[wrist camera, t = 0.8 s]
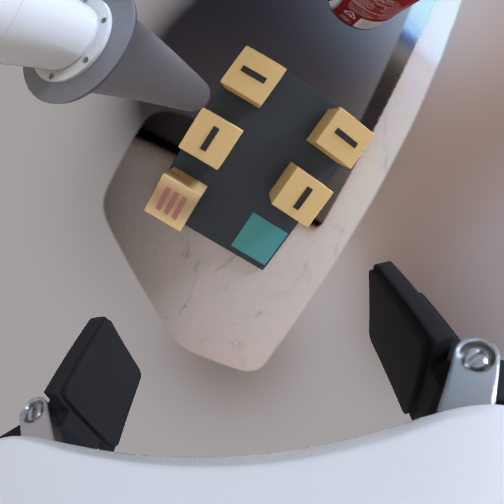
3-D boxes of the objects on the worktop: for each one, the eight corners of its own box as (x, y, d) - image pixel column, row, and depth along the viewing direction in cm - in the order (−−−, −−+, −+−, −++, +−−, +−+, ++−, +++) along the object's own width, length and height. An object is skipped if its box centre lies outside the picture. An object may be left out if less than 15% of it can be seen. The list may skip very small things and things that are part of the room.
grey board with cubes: (262, 268, 35) (264, 290, 30) (151, 203, 31) (136, 216, 27) (364, 129, 28) (383, 130, 23) (248, 49, 25) (248, 35, 20)
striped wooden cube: (188, 218, 32) (179, 232, 28) (157, 199, 31) (143, 210, 27) (208, 186, 30) (201, 196, 26) (174, 166, 29) (162, 173, 25)
